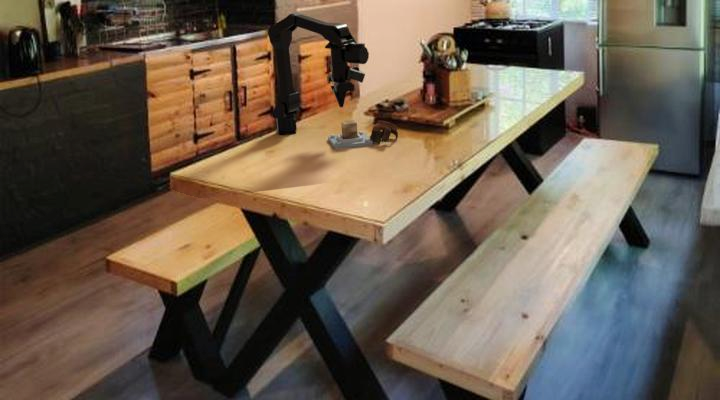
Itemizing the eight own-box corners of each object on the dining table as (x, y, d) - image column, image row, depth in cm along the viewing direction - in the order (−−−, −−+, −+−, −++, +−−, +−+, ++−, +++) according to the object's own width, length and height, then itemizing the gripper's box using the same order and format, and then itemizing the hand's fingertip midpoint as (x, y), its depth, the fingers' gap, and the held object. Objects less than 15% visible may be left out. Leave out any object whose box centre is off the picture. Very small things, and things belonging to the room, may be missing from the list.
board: (335, 149, 254) (335, 143, 253) (328, 140, 266) (327, 133, 265) (372, 145, 256) (372, 138, 256) (363, 136, 268) (363, 130, 268)
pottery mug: (364, 141, 264) (372, 119, 264) (389, 150, 266) (397, 128, 266) (373, 140, 252) (381, 117, 252) (398, 150, 254) (406, 127, 255)
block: (345, 141, 258) (344, 124, 256) (342, 138, 262) (341, 121, 260) (357, 140, 259) (356, 123, 257) (354, 136, 263) (353, 120, 261)
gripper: (368, 65, 249) (370, 111, 254) (356, 56, 266) (358, 99, 271) (335, 67, 247) (337, 114, 252) (325, 58, 264) (327, 102, 269)
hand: (341, 107), depth 261 cm, fingers closed
